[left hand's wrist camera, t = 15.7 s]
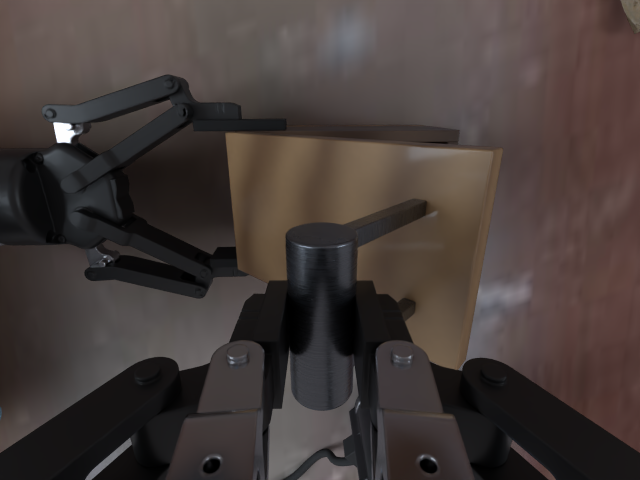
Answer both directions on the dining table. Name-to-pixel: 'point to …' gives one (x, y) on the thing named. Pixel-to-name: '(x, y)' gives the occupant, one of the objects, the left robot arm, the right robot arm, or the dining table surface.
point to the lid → (362, 241)
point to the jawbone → (632, 13)
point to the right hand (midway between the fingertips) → (288, 194)
